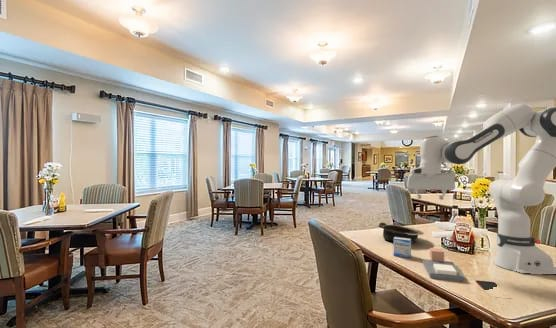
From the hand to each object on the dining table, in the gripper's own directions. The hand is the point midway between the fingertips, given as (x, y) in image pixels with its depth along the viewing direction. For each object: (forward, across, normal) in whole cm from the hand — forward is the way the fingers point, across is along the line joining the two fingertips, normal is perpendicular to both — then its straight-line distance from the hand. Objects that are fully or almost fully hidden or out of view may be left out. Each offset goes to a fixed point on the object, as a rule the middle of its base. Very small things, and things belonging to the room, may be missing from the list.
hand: (430, 199), depth 136 cm
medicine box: (+29, +12, -2) cm, 32 cm away
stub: (+27, -2, +5) cm, 27 cm away
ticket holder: (+29, -2, +15) cm, 33 cm away
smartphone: (+30, -16, +28) cm, 44 cm away
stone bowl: (+29, +10, -31) cm, 44 cm away
